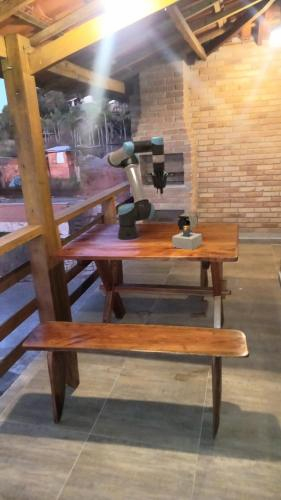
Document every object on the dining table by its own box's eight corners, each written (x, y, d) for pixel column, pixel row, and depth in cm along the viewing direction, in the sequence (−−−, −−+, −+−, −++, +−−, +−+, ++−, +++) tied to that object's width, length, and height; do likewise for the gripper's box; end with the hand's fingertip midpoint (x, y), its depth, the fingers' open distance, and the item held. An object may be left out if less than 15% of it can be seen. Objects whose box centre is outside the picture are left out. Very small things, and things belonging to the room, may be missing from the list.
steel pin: (182, 244, 245) (181, 226, 242) (185, 242, 249) (185, 225, 245) (187, 245, 243) (187, 227, 239) (191, 243, 246) (191, 225, 242)
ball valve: (189, 240, 256) (188, 214, 251) (177, 239, 261) (176, 214, 255) (199, 234, 271) (199, 209, 266) (188, 233, 275) (188, 208, 270)
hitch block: (172, 247, 245) (172, 236, 243) (183, 241, 255) (183, 231, 253) (191, 250, 237) (191, 239, 235) (202, 244, 246) (201, 234, 244)
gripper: (146, 162, 244) (149, 199, 251) (163, 162, 236) (165, 200, 243) (153, 161, 249) (155, 197, 256) (170, 161, 242) (171, 198, 249)
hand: (160, 198), depth 250 cm, fingers closed
